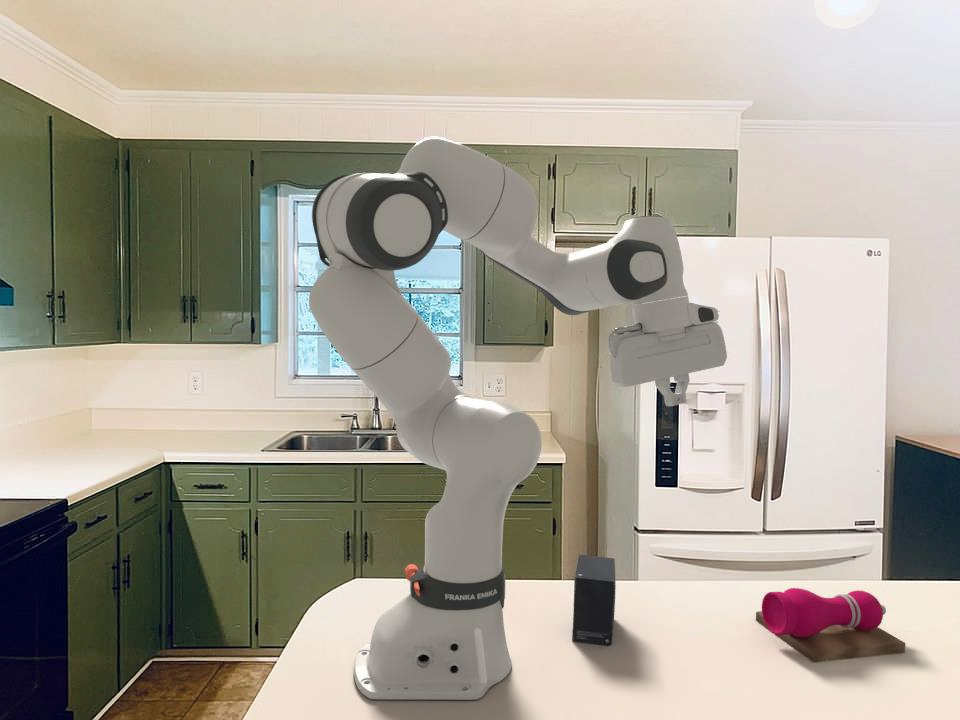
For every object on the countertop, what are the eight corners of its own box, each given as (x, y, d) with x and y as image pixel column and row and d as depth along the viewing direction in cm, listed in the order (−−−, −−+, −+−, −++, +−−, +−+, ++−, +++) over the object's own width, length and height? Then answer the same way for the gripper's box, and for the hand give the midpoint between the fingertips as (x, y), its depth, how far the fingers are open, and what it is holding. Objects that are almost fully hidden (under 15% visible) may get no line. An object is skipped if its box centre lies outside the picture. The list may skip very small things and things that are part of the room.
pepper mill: (788, 645, 101) (902, 640, 105) (788, 595, 102) (902, 592, 106) (758, 629, 108) (867, 625, 112) (759, 583, 109) (867, 580, 113)
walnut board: (812, 662, 101) (813, 652, 100) (755, 620, 114) (756, 611, 114) (904, 652, 104) (905, 643, 104) (838, 612, 118) (838, 604, 117)
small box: (614, 647, 104) (615, 580, 104) (571, 642, 106) (572, 576, 105) (614, 617, 115) (616, 556, 114) (575, 613, 116) (577, 553, 115)
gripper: (617, 327, 101) (632, 419, 102) (726, 307, 109) (739, 393, 109) (595, 330, 107) (610, 416, 108) (699, 311, 115) (712, 392, 115)
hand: (676, 404), depth 109 cm, fingers closed
